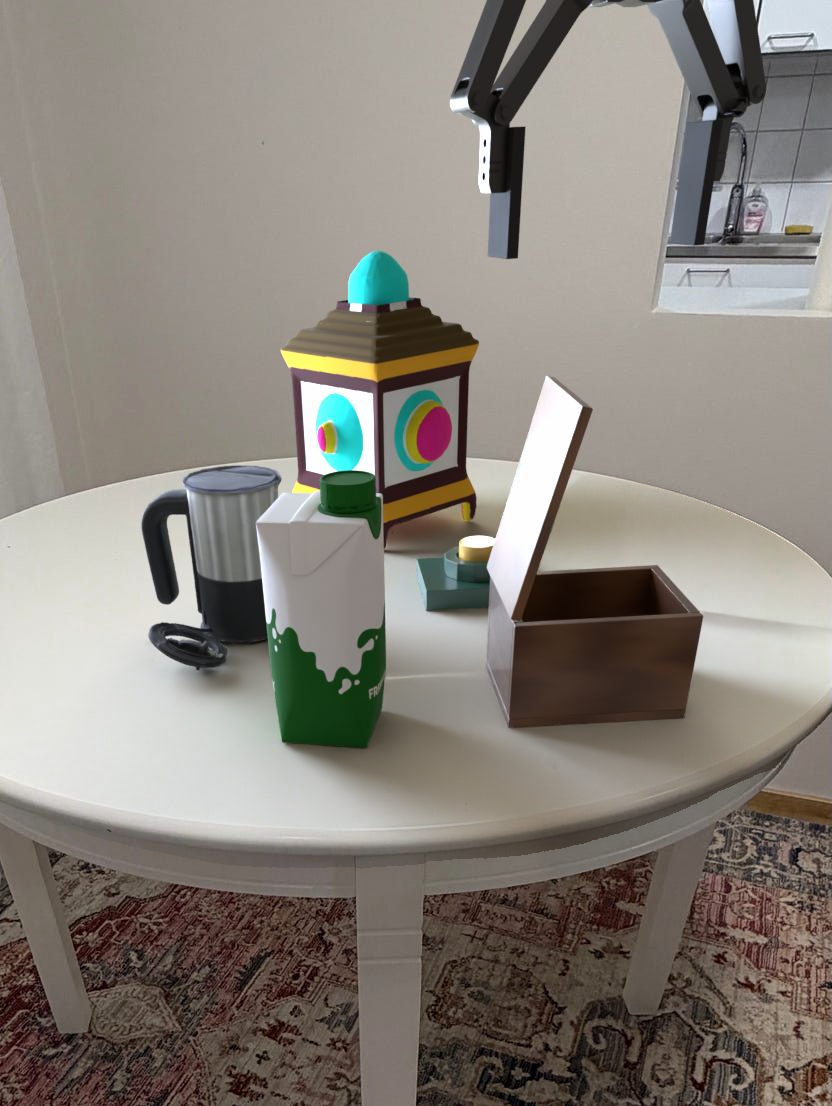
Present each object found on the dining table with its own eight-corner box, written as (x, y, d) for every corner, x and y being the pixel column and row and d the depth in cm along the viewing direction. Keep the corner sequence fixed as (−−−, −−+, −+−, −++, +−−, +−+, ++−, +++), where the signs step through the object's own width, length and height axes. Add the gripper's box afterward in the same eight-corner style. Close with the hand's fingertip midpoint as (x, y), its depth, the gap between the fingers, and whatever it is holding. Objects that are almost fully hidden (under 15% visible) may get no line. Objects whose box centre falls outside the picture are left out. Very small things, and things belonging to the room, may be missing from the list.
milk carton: (375, 755, 75) (368, 495, 64) (266, 747, 77) (239, 493, 65) (394, 704, 82) (391, 461, 70) (293, 698, 84) (273, 460, 72)
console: (522, 572, 107) (525, 536, 105) (541, 605, 99) (544, 567, 97) (416, 577, 107) (416, 542, 105) (426, 611, 99) (426, 573, 97)
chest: (643, 658, 88) (657, 564, 83) (684, 717, 78) (703, 616, 73) (485, 667, 87) (490, 573, 82) (508, 728, 78) (515, 626, 73)
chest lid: (555, 377, 73) (545, 375, 73) (593, 408, 64) (582, 406, 64) (494, 569, 82) (486, 567, 82) (520, 622, 73) (510, 619, 73)
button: (493, 550, 103) (494, 534, 102) (499, 563, 99) (500, 546, 98) (456, 552, 102) (456, 536, 101) (461, 565, 99) (462, 548, 98)
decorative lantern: (275, 525, 125) (252, 255, 107) (384, 492, 135) (380, 241, 117) (380, 559, 112) (374, 261, 95) (491, 520, 123) (504, 245, 105)
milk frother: (287, 605, 102) (275, 460, 93) (306, 667, 89) (294, 505, 80) (153, 619, 100) (127, 472, 91) (153, 684, 87) (124, 520, 79)
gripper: (794, -200, 55) (722, 236, 68) (394, -227, 49) (396, 259, 61) (894, -244, 49) (795, 241, 62) (455, -281, 43) (444, 267, 56)
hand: (597, 251), depth 62 cm, fingers open, 13 cm apart
